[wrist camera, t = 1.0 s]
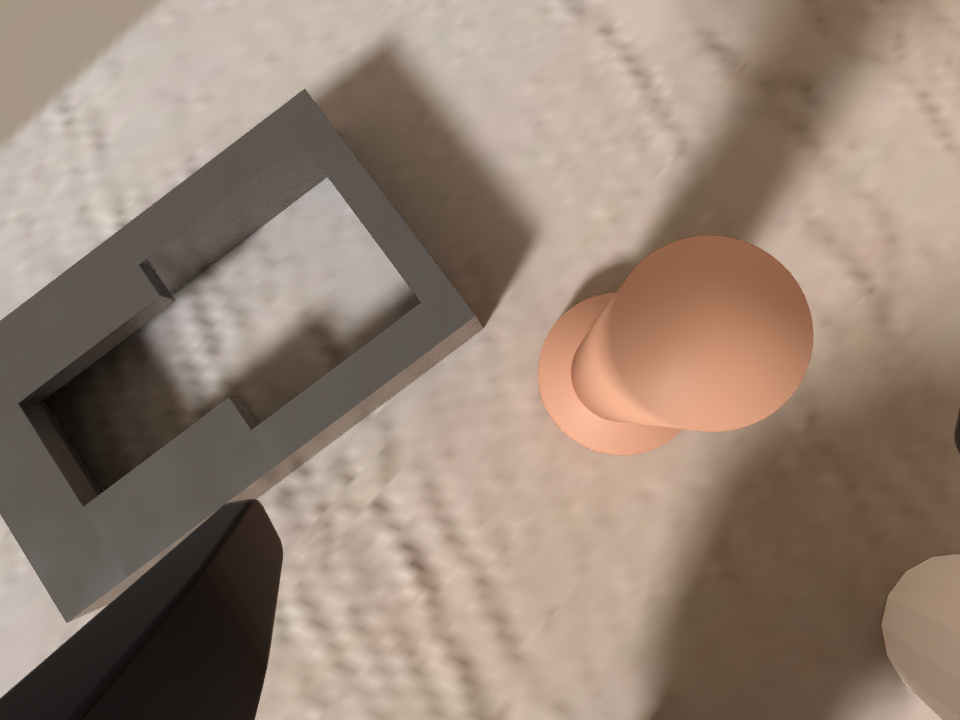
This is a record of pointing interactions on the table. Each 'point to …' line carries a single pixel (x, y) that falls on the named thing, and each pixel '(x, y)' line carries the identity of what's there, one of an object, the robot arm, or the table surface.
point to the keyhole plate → (231, 425)
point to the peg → (678, 348)
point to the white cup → (927, 632)
